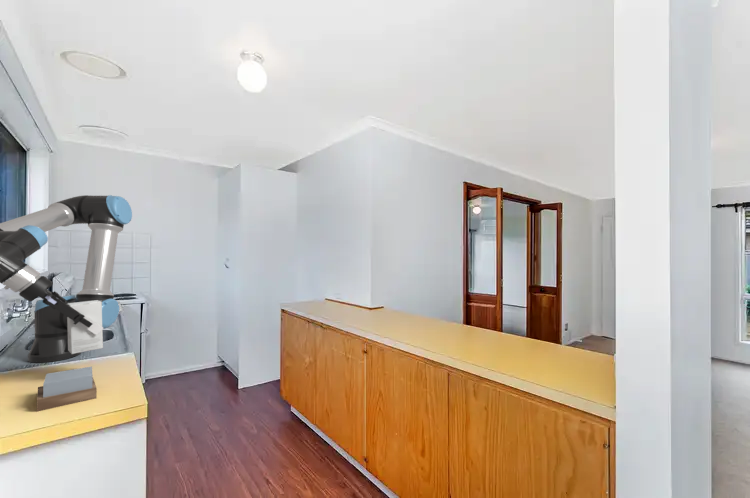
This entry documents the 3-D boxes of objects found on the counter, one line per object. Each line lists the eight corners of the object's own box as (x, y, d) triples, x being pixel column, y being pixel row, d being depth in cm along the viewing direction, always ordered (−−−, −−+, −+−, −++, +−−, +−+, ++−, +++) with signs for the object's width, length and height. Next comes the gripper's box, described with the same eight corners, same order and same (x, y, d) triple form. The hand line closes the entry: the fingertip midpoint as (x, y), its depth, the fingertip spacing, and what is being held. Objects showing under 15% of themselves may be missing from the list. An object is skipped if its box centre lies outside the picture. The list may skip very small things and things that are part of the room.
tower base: (37, 399, 98) (37, 387, 99) (92, 388, 107) (92, 376, 107) (36, 414, 90) (36, 400, 90) (96, 400, 98) (96, 387, 98)
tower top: (46, 386, 99) (46, 373, 99) (91, 378, 105) (91, 366, 106) (43, 397, 91) (43, 384, 91) (92, 388, 98) (92, 375, 98)
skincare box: (98, 345, 119) (98, 299, 119) (103, 348, 115) (103, 301, 115) (66, 351, 113) (66, 302, 113) (70, 354, 108) (69, 304, 109)
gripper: (19, 290, 111) (85, 333, 122) (14, 297, 96) (91, 345, 107) (42, 272, 114) (105, 315, 125) (41, 276, 100) (112, 325, 111)
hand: (98, 329), depth 116 cm, fingers closed on skincare box, 7 cm apart
